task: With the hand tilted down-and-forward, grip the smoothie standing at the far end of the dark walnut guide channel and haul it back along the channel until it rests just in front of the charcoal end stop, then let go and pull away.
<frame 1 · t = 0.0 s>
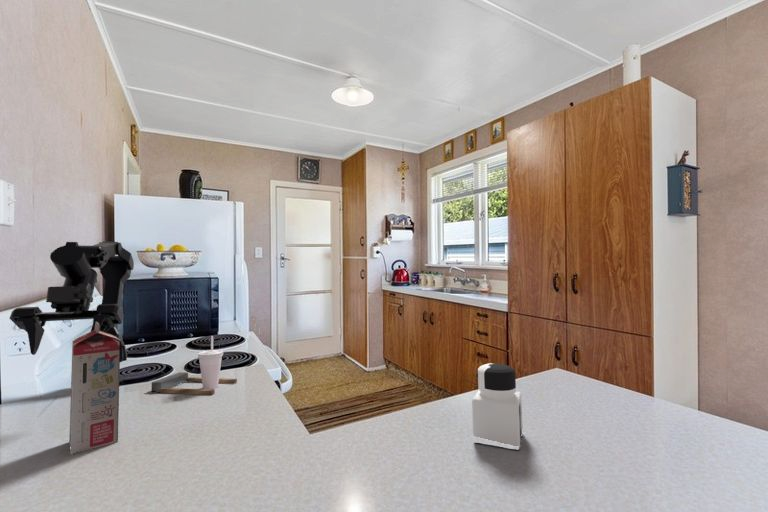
hand: (60, 351, 76), 15 cm above the countertop, tool tilted 35°, fingers open, 9 cm apart
guide track: (187, 386, 99), on the countertop
container: (498, 439, 64), on the countertop
smoothie: (210, 388, 98), on the countertop
juice carton: (93, 443, 66), on the countertop
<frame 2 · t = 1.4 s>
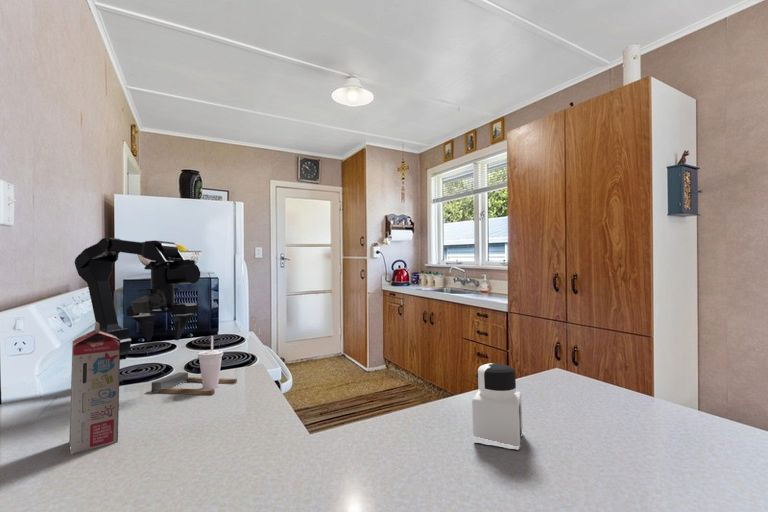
hand: (162, 340, 100), 13 cm above the countertop, tool pointing down, fingers open, 9 cm apart
nothing on the countertop moved.
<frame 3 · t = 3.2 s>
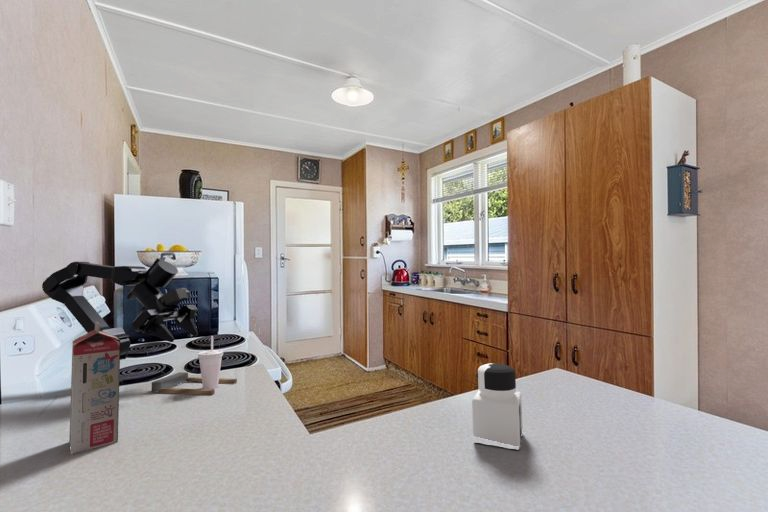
hand: (185, 338, 100), 13 cm above the countertop, tool tilted 45°, fingers open, 9 cm apart
nothing on the countertop moved.
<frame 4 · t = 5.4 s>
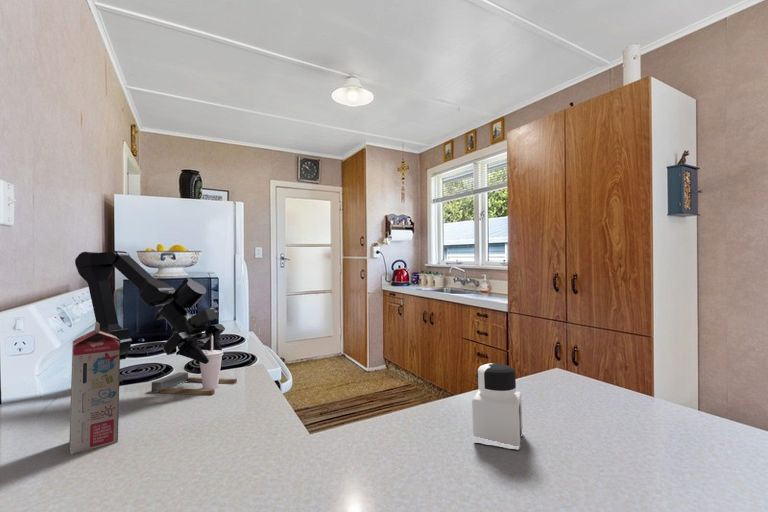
hand: (215, 359, 98), 8 cm above the countertop, tool tilted 45°, fingers closed on smoothie, 6 cm apart
smoothie: (210, 388, 98), on the countertop, touching gripper
everything else where it was.
when the fingers open (8 cm above the countertop, at t = 8.8 s): smoothie stays where it is, on the countertop.
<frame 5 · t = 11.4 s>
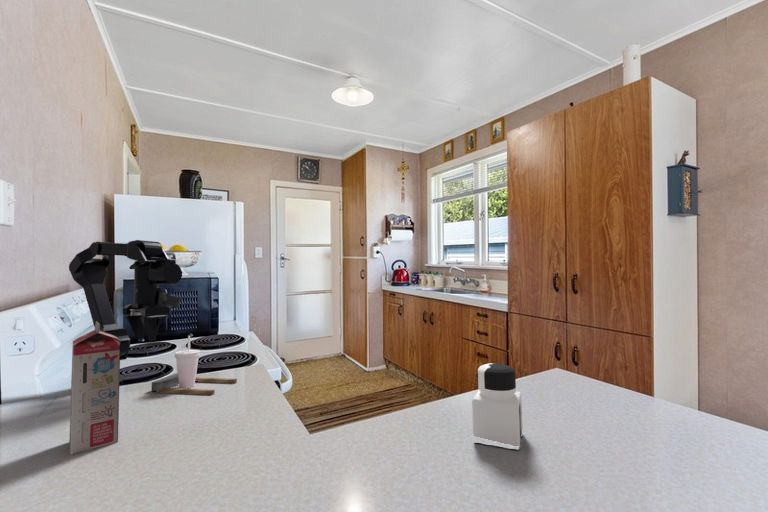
hand: (146, 340, 100), 13 cm above the countertop, tool pointing down, fingers open, 9 cm apart
smoothie: (187, 387, 99), on the countertop
everything else where it was.
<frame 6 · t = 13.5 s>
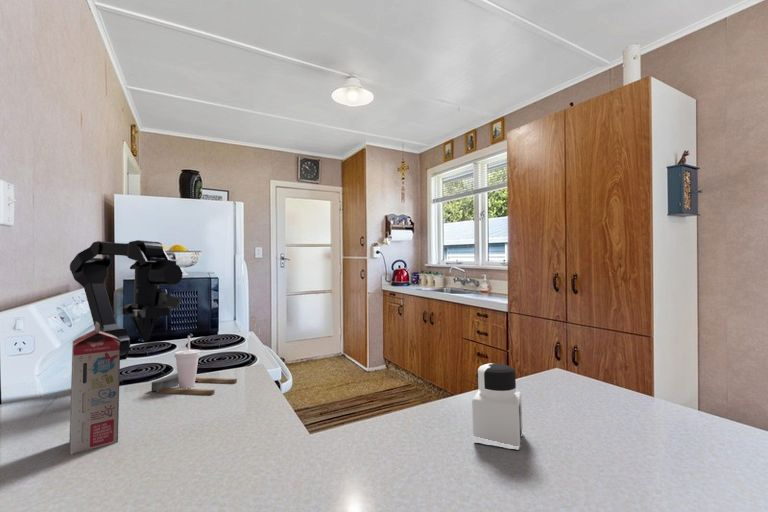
hand: (145, 341, 100), 13 cm above the countertop, tool pointing down, fingers closed
nothing on the countertop moved.
at the end: smoothie 0.2 cm from the guide track (horizontally); smoothie tilted 0°; the gripper is holding nothing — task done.
